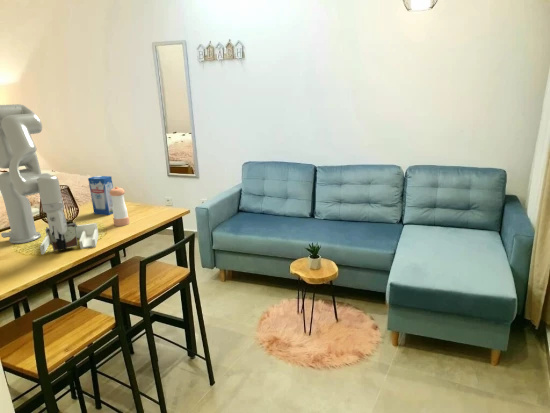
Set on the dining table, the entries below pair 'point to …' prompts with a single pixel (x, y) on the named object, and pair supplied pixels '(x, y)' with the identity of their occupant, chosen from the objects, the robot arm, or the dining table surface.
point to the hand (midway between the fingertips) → (62, 249)
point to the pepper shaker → (119, 207)
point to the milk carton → (101, 194)
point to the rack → (84, 232)
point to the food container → (69, 236)
